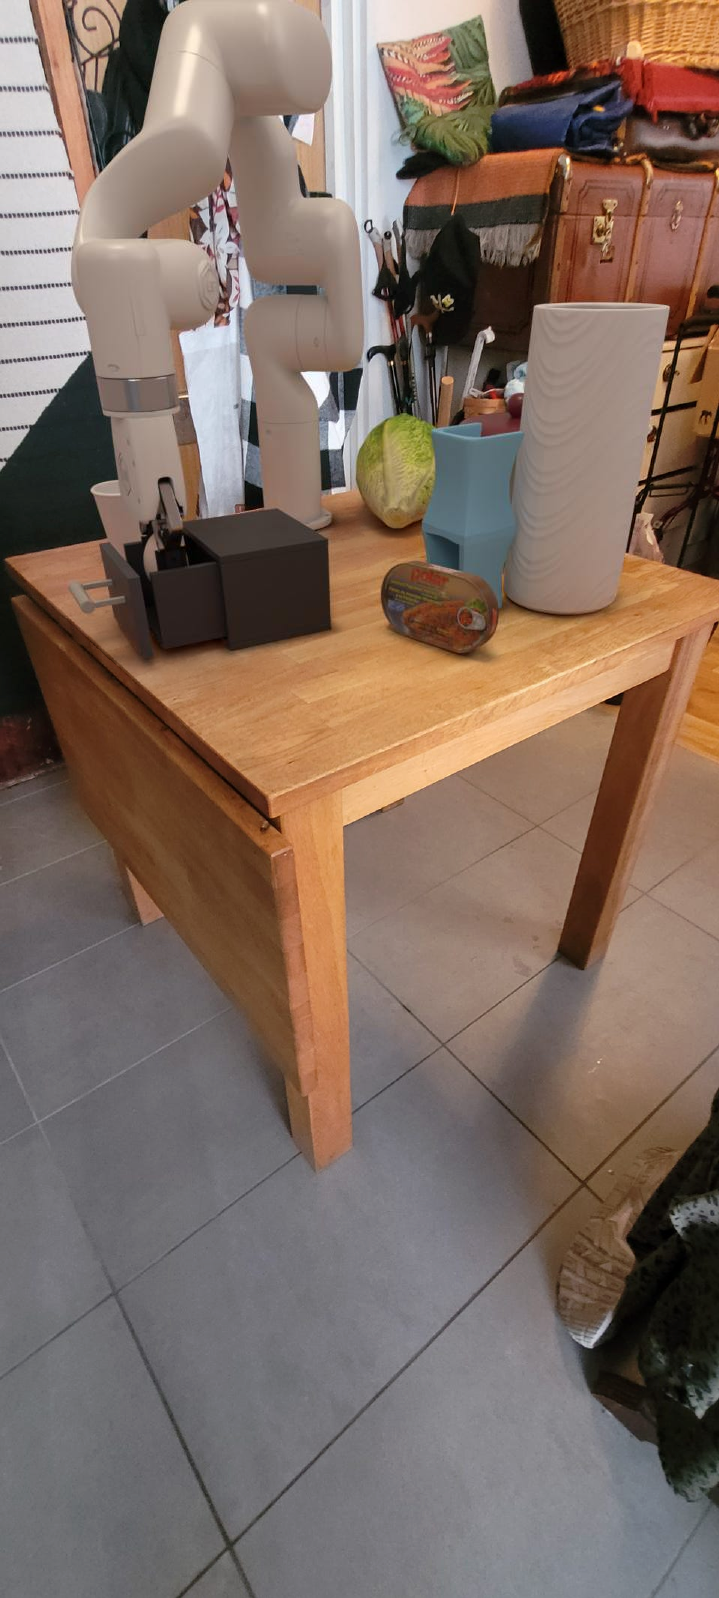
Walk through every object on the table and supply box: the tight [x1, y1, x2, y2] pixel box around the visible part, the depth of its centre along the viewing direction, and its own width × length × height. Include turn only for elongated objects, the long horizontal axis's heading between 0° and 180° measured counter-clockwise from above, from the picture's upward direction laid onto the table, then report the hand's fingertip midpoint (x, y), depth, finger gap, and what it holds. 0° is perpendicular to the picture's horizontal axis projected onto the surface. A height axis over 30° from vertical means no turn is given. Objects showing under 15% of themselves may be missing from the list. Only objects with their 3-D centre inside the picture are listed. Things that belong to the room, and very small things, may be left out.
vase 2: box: [503, 301, 671, 616], centre depth 89 cm, size 14×14×32 cm
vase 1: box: [421, 422, 525, 609], centre depth 91 cm, size 8×8×20 cm
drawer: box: [67, 534, 227, 660], centre depth 86 cm, size 16×13×9 cm
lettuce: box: [355, 412, 437, 529], centre depth 126 cm, size 15×24×16 cm
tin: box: [380, 560, 500, 654], centre depth 85 cm, size 15×3×8 cm, turn 47°
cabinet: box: [182, 508, 332, 651], centre depth 90 cm, size 13×15×11 cm
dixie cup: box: [90, 479, 146, 561], centre depth 110 cm, size 8×8×10 cm
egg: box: [144, 531, 189, 580], centre depth 85 cm, size 5×5×7 cm
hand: (167, 575), depth 86 cm, fingers closed on egg, 4 cm apart
